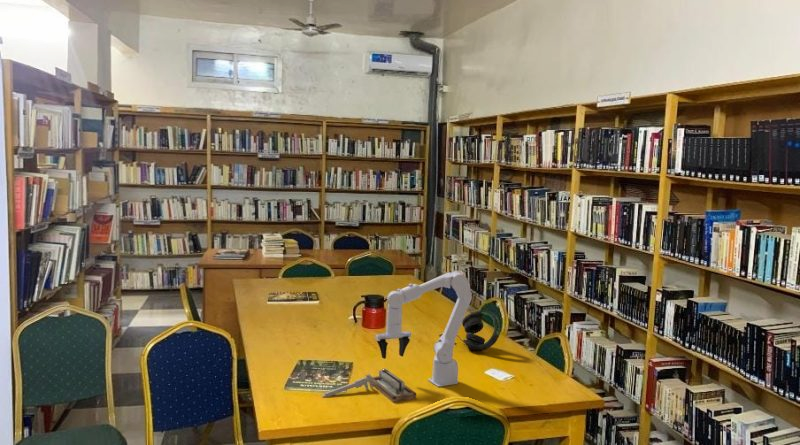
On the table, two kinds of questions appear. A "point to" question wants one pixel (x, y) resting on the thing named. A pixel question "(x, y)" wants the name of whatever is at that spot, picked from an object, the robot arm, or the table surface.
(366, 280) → the table surface
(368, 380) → the caliper
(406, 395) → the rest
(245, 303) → the table surface
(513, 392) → the table surface
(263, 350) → the table surface
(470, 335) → the headset
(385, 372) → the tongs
